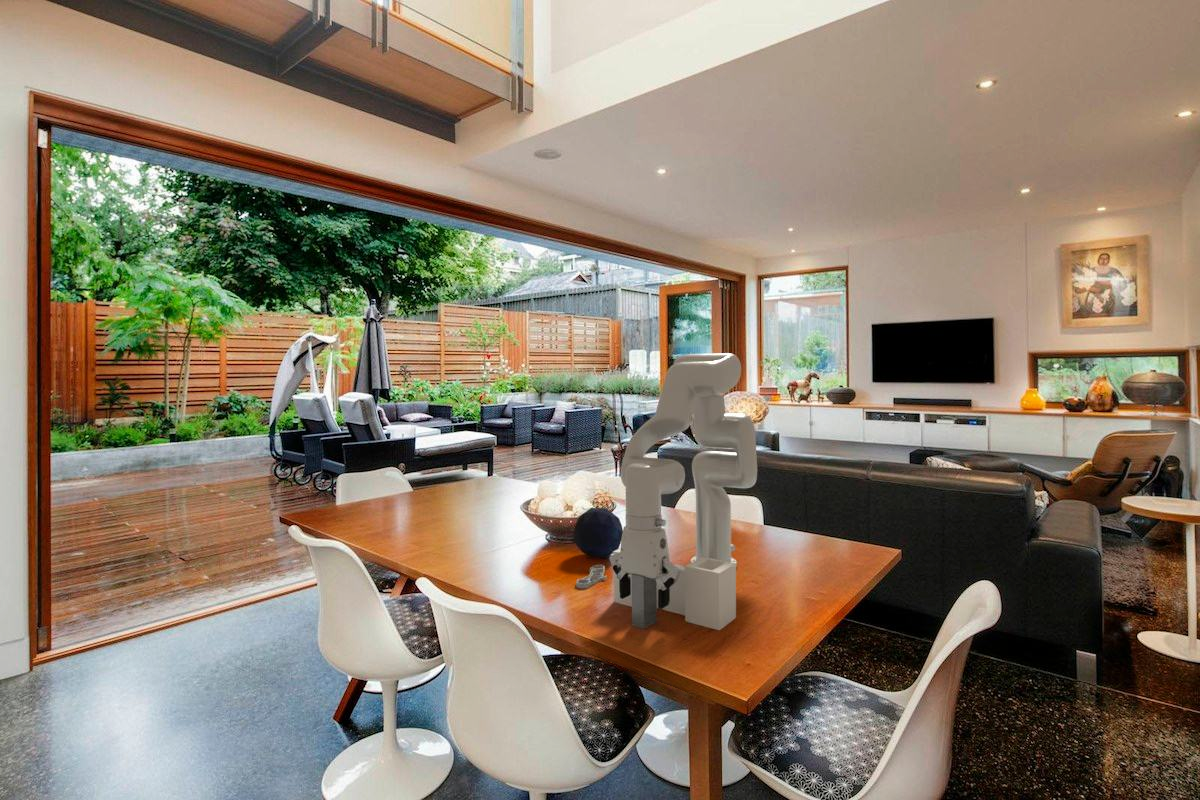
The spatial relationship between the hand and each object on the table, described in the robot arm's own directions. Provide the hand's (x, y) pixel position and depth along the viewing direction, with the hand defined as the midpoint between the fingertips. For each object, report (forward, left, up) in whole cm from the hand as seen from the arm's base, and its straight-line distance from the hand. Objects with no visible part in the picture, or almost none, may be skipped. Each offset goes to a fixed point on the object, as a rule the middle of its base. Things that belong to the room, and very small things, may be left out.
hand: (644, 601), depth 128 cm
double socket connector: (-10, +1, -5) cm, 11 cm away
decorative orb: (-32, -37, -5) cm, 49 cm away
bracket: (-16, -27, -5) cm, 31 cm away
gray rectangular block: (0, 0, -5) cm, 5 cm away
